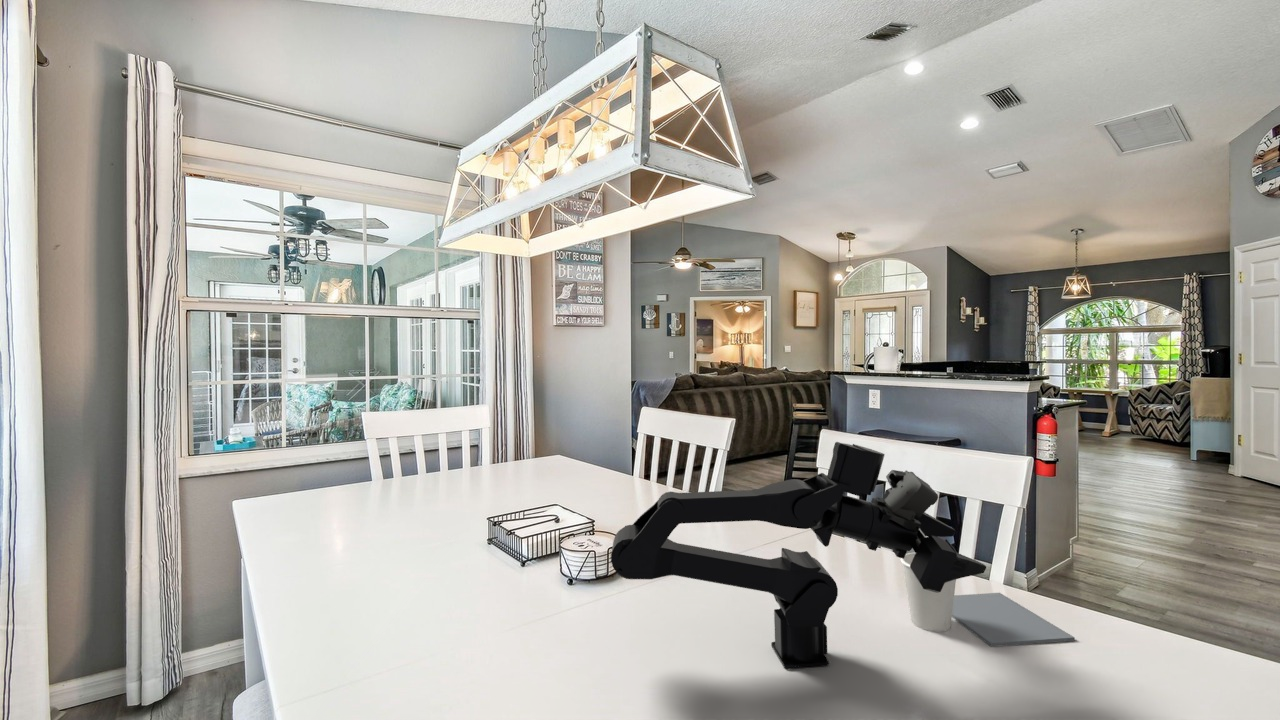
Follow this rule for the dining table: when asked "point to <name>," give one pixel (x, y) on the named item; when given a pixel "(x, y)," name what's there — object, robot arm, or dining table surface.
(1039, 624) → the mat
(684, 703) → the dining table surface
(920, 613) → the dixie cup
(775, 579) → the robot arm
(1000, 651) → the dining table surface
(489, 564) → the dining table surface
